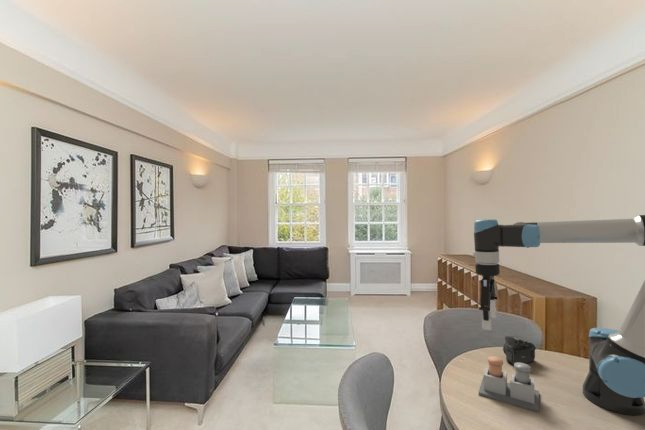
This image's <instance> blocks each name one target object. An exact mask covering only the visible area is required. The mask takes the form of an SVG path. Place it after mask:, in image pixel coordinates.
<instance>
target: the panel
mask: <svg viewBox="0 0 645 430" xmlns="http://www.w3.org/2000/svg"><path fill="white" fill-rule="evenodd" d="M509 382H510V383H509ZM509 382H508V371H505V370H502V378H499V377H495V376H491V375H489V366H485V369H484V372H483V378H482V381H481V384H480V386H479V390H478V396H482V397H486V398H489V399H492V400H495V401H498V402H503V403H506V404H509V405H513V406H516V407H519V408H523V409H527V410H531V411H534V412H536V413H540V396H539V395H540V392H539V390H536V389H535V378H534V377H530V385H527V384H523V383H519V382H515V372H514V373H511V374H510V381H509Z"/></svg>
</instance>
